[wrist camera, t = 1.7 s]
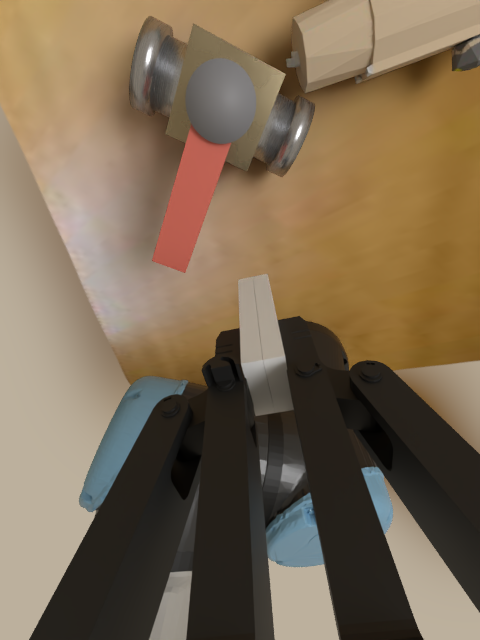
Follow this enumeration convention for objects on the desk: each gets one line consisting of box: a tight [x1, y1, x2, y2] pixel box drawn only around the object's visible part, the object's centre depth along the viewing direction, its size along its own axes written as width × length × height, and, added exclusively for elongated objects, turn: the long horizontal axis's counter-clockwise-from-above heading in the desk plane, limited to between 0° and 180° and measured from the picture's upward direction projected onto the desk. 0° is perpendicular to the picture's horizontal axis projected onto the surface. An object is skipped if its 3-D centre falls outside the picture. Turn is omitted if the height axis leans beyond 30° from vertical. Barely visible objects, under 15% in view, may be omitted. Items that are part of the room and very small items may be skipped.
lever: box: [152, 58, 256, 273], centre depth 24 cm, size 14×4×4 cm, turn 157°
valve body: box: [129, 16, 315, 177], centre depth 26 cm, size 13×7×7 cm, turn 67°
